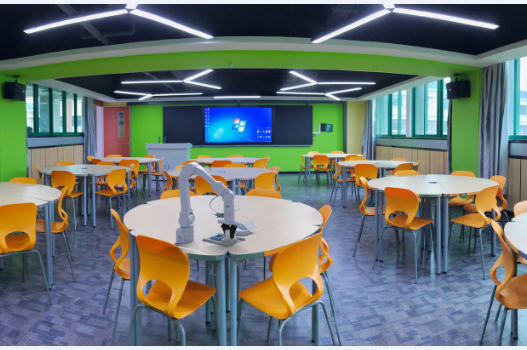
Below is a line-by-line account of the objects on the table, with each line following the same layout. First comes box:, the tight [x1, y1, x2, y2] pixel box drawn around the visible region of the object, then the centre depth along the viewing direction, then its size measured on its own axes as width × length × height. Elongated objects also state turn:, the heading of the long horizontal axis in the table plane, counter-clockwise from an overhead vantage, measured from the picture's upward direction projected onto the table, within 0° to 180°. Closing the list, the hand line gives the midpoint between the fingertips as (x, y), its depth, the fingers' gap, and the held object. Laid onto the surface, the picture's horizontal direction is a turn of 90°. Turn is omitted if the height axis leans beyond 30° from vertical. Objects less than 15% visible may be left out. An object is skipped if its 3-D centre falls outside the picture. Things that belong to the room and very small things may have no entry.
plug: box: [225, 230, 234, 240], centre depth 187 cm, size 3×3×6 cm
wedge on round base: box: [234, 220, 258, 236], centre depth 205 cm, size 9×7×13 cm
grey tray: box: [202, 232, 246, 248], centre depth 190 cm, size 14×20×3 cm
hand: (229, 237), depth 187 cm, fingers closed on plug, 3 cm apart
